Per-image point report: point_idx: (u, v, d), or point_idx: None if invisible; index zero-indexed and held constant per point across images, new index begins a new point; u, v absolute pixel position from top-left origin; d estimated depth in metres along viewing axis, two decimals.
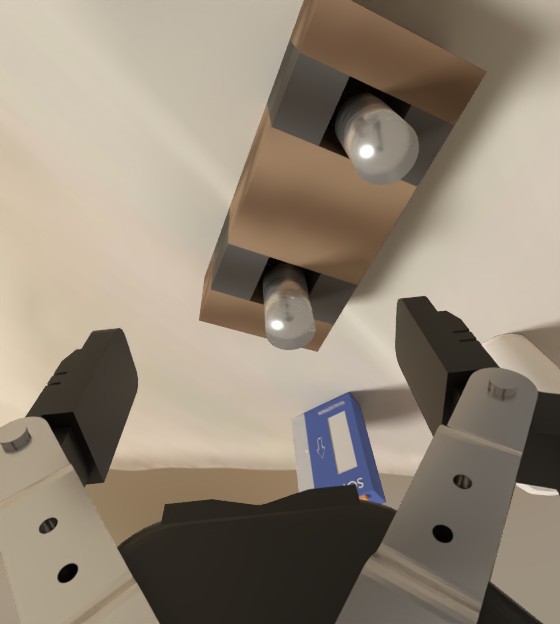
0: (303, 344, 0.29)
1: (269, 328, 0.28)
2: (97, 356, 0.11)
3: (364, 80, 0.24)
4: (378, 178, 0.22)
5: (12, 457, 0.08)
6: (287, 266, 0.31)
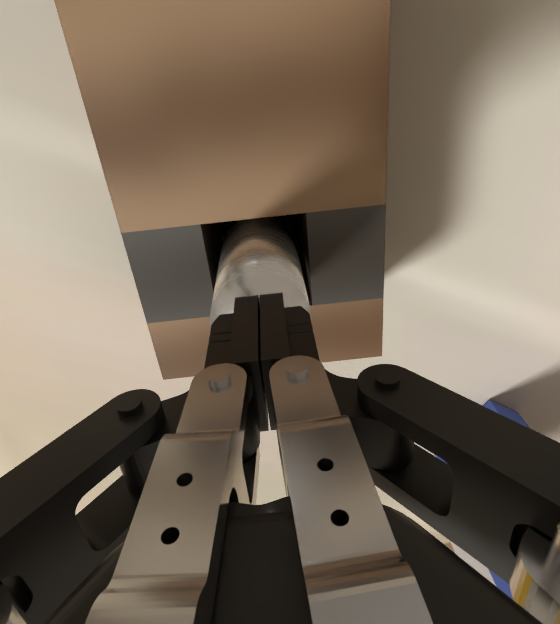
0: None
1: None
2: (253, 317, 0.12)
3: None
4: None
5: (227, 395, 0.09)
6: (244, 221, 0.18)
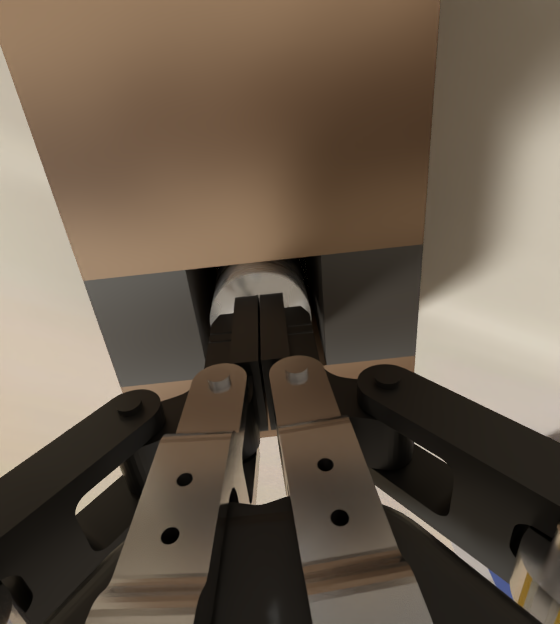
0: None
1: None
2: (253, 317, 0.12)
3: None
4: None
5: (227, 395, 0.09)
6: None
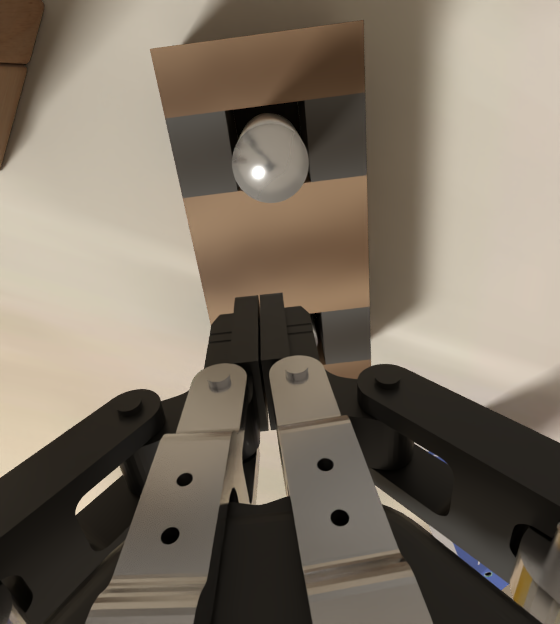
0: None
1: None
2: (253, 317, 0.12)
3: (241, 106, 0.22)
4: (280, 193, 0.19)
5: (226, 395, 0.09)
6: None
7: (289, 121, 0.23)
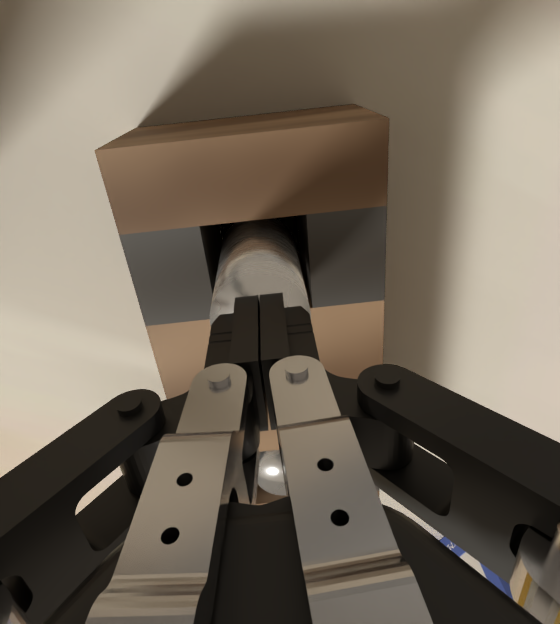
0: None
1: (261, 481, 0.23)
2: (253, 317, 0.12)
3: (222, 220, 0.16)
4: None
5: (227, 395, 0.09)
6: None
7: (284, 225, 0.18)
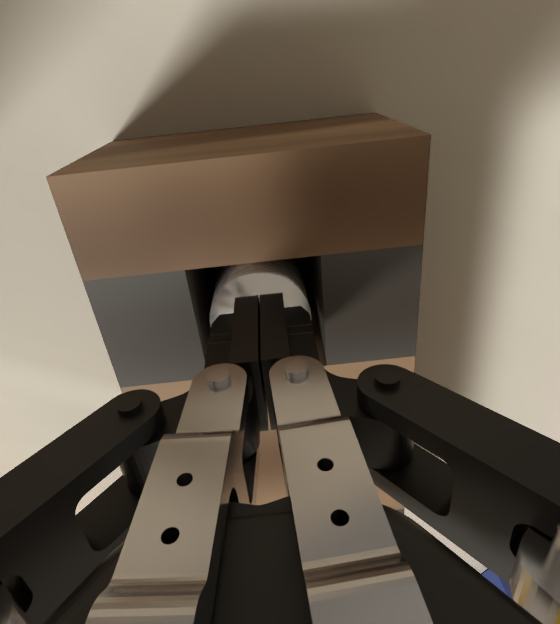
0: None
1: None
2: (253, 317, 0.12)
3: (213, 263, 0.13)
4: None
5: (227, 395, 0.09)
6: None
7: None
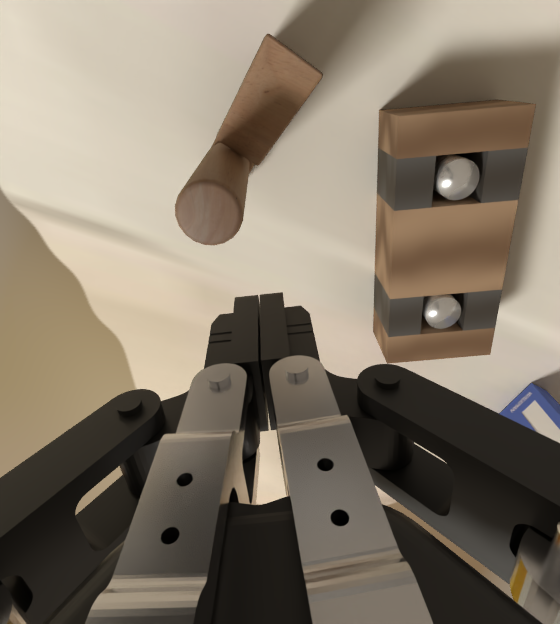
0: (456, 319, 0.40)
1: (428, 317, 0.40)
2: (253, 317, 0.12)
3: (447, 153, 0.33)
4: (460, 195, 0.35)
5: (227, 395, 0.09)
6: None
7: None
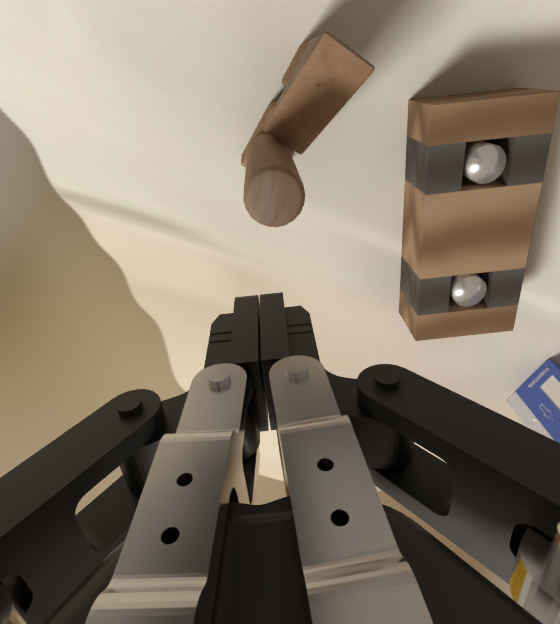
0: (481, 297, 0.43)
1: (455, 295, 0.43)
2: (253, 317, 0.12)
3: (476, 139, 0.35)
4: (488, 179, 0.37)
5: (227, 395, 0.09)
6: None
7: None
